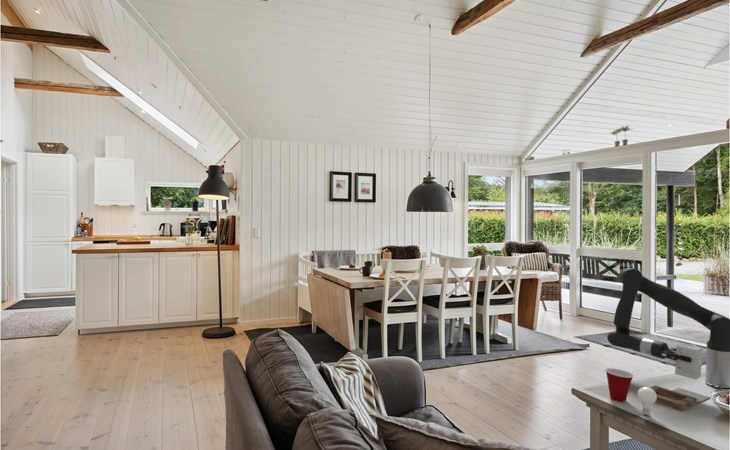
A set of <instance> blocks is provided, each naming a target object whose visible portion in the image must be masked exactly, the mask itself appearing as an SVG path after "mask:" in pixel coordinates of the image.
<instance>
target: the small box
mask: <svg viewBox="0 0 730 450" xmlns="http://www.w3.org/2000/svg"><path fill="white" fill-rule="evenodd" d="M676 348H677V349H676V354H680V355H683V356H687V357H691V358H692V360H691V362H690V363H689V362H685V361H682V360H681V361H679V360H677V361H675V368H674V369H675V370H674V375H677V376H682V377H685V378H689V379H692V380H695V381H696V380H697V381H698V380H699V378H701V376H702V361H703V347H700V346H695V345H691V344H687V343H679V344H676Z"/></svg>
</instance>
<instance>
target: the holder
mask: <svg viewBox="0 0 730 450" xmlns="http://www.w3.org/2000/svg"><path fill="white" fill-rule="evenodd" d="M649 388H651V389H653V390H654V391H655V393H656V395H657V400H656V402H655V403H656V404H659V405H662V406H665V407H668V408H670V409H674V410H676V411H679V412H683V411H685V410H687V409H690V408H691V407H694V406H696V405H697V398H694V397H691V396H688V395H684V394H681V393H678V392H675V391H672V390H673V389H672V390H671V389H669V388H666V387H662V386H659V385H653V386H650V387H649Z"/></svg>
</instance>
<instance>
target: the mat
mask: <svg viewBox="0 0 730 450" xmlns="http://www.w3.org/2000/svg"><path fill="white" fill-rule="evenodd" d="M672 391H675V392H678V393H681V394H684V395H688V396H691V397H694V398H697V404H700V403H703V402H705V401H708V400H709V399H708V398H710V399H711V397H710V396H707V395H704V394H701V393H698V392H694V391H692V390H691V391H690V390H688V389H684V388H681V387H677V388H675V389H672ZM697 404H696V405H697Z"/></svg>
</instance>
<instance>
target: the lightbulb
mask: <svg viewBox="0 0 730 450" xmlns="http://www.w3.org/2000/svg"><path fill="white" fill-rule="evenodd" d="M657 395H658V394H657ZM657 395H656V393H655V391H654V390H653V389H651V388H650V387H649V386H648V387H647V386H642V387H640V388H639V389H638V391H637V398H638V399H639V401H640V403H641V407H642V414H643V413H644V414H646V415H649V416H651V413H652V411H651V409H652V408H653V405H654V404H655V403H656V400H657ZM644 414H643V415H644ZM646 415H645V416H646Z"/></svg>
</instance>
